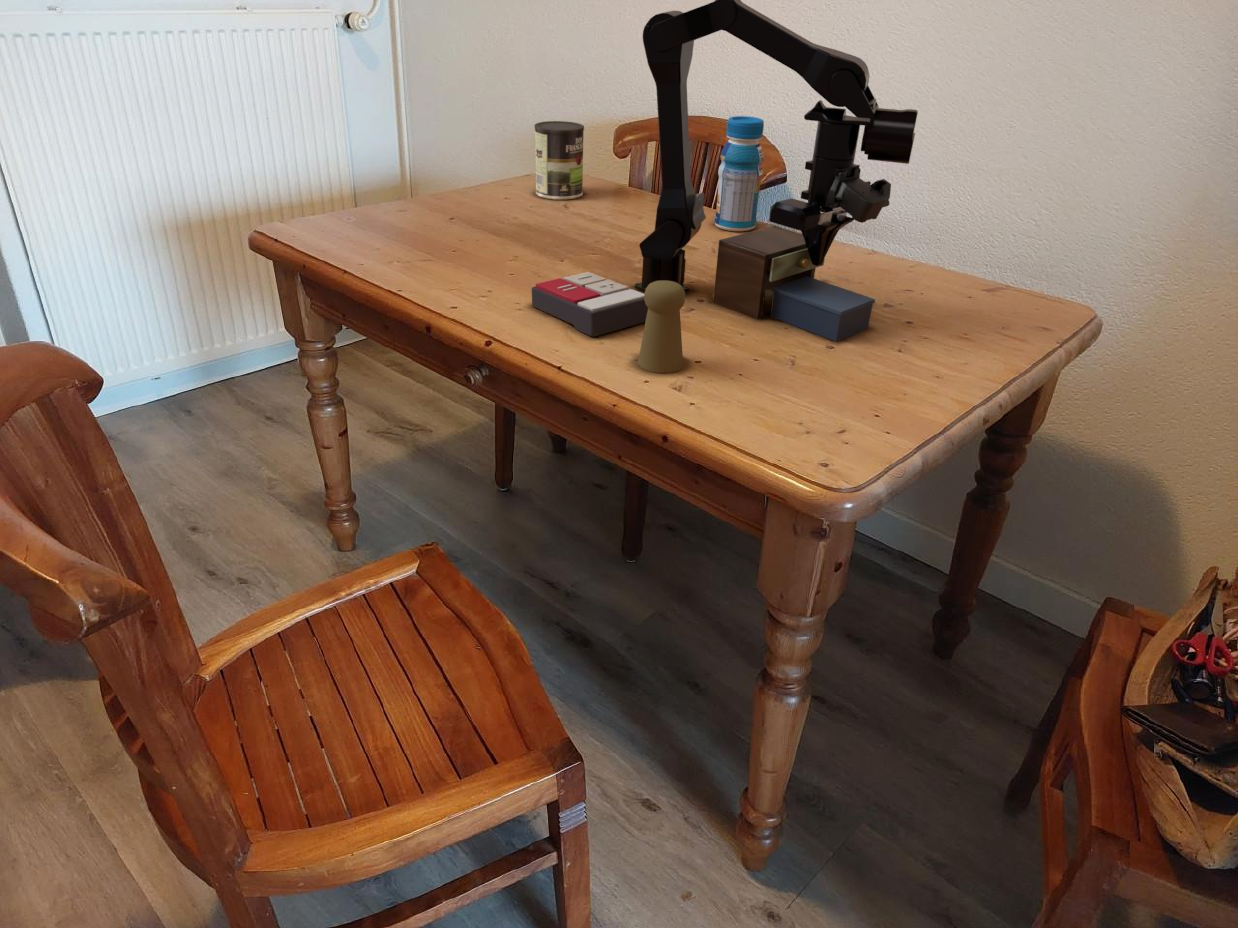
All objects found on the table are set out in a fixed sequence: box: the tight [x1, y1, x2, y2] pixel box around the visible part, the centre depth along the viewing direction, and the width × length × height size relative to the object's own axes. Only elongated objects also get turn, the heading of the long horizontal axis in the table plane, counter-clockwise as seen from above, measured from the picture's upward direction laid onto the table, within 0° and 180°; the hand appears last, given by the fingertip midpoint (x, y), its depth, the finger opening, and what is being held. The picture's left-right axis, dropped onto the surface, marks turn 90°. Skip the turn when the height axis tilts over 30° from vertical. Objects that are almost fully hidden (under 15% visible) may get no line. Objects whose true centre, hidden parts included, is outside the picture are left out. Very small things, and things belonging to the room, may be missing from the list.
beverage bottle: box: [714, 115, 765, 232], centre depth 167 cm, size 8×8×20 cm
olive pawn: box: [637, 280, 686, 374], centre depth 113 cm, size 6×6×11 cm
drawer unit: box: [712, 225, 817, 320], centre depth 134 cm, size 13×9×10 cm
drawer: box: [768, 248, 826, 282], centre depth 131 cm, size 13×10×3 cm
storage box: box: [770, 276, 876, 342], centre depth 129 cm, size 8×12×5 cm
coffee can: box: [534, 120, 585, 201], centre depth 185 cm, size 10×10×14 cm
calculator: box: [531, 271, 648, 337], centre depth 129 cm, size 11×4×15 cm
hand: (816, 264), depth 130 cm, fingers closed, pressing on drawer
